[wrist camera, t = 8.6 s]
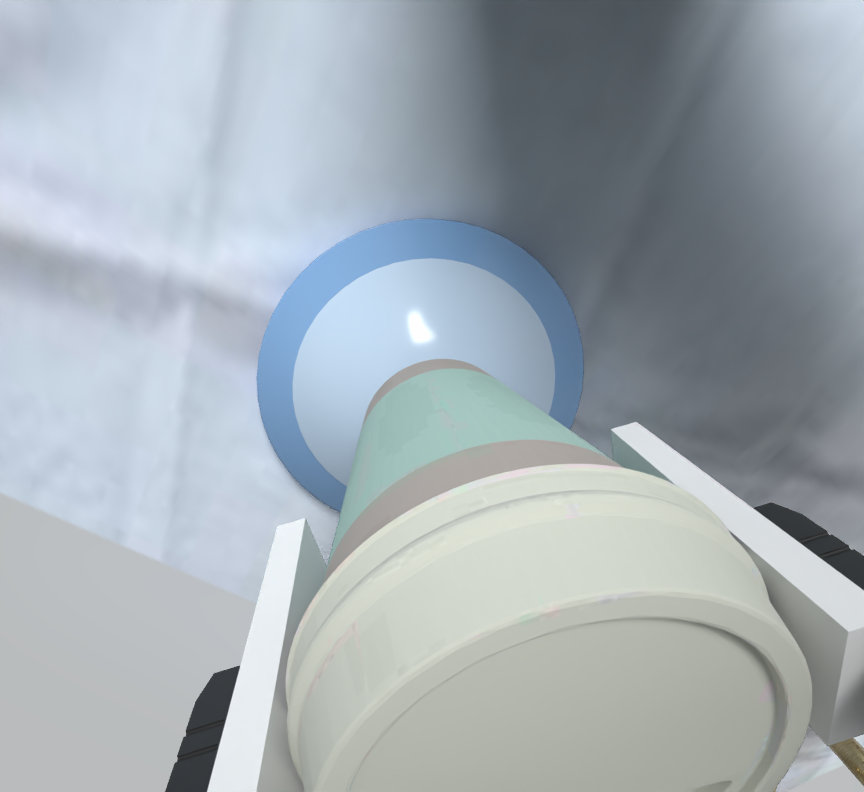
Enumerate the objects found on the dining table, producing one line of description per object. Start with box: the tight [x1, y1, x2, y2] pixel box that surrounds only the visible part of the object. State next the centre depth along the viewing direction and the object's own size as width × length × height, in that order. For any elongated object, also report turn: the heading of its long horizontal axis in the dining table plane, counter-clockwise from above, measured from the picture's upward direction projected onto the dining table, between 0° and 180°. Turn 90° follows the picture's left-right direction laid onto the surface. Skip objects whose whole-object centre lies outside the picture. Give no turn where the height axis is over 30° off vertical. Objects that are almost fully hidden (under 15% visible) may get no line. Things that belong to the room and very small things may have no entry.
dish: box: [257, 219, 584, 512], centre depth 21 cm, size 15×15×1 cm
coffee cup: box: [285, 359, 812, 792], centre depth 12 cm, size 9×8×12 cm
